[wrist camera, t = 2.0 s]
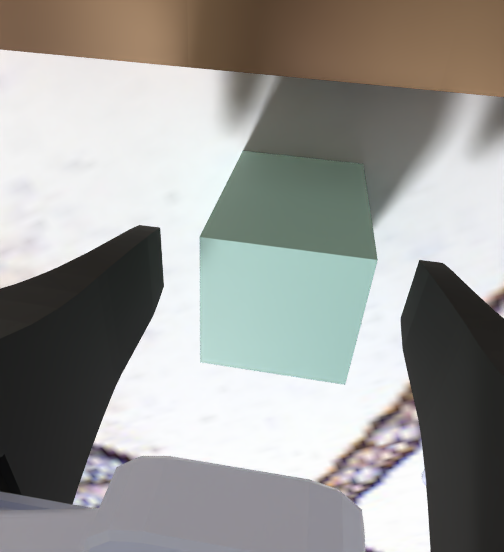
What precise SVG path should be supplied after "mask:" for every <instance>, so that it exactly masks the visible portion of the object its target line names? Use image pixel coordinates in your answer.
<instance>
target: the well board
mask: <svg viewBox="0 0 504 552" xmlns="http://www.w3.org/2000/svg"><path fill="white" fill-rule="evenodd" d="M0 49H2V50H12V51H23V52H33V53H44V54H54V55H65V56H76V57H86V58H97V59H107V60H118V61H128V62H139V63H149V64H160V65H170V66H181V67H192V68H202V69H213V70H223V71H234V72H244V73H255V74H265V75H276V76H286V77H297V78H308V79H318V80H329V81H339V82H350V83H360V84H371V85H381V86H392V87H403V88H413V89H424V90H434V91H445V92H455V93H466V94H476V95H487V96H497V97H504V0H0Z"/></svg>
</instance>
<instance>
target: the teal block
mask: <svg viewBox="0 0 504 552" xmlns="http://www.w3.org/2000/svg"><path fill="white" fill-rule="evenodd" d="M376 264H377V253H376V246H375V240H374V233H373V226H372V220H371V213H370V206H369V199H368V193H367V186H366V179H365V173H364V166H363V164H359V163H350V162H341V161H332V160H323V159H314V158H305V157H296V156H287V155H278V154H269V153H260V152H251V151H243V152H242V154H241V156H240V158H239V160H238V162H237V164H236V166H235V168H234V170H233V172H232V174H231V176H230V178H229V180H228V182H227V184H226V186H225V188H224V190H223V192H222V194H221V196H220V198H219V200H218V202H217V204H216V206H215V208H214V210H213V212H212V214H211V215H210V217H209V219H208V221H207V223H206V225H205V227H204V229H203V231H202V233H201V235H200V362H202V363H209V364H215V365H222V366H228V367H234V368H241V369H247V370H254V371H260V372H267V373H273V374H280V375H286V376H293V377H299V378H305V379H312V380H318V381H325V382H331V383H338V384H344V385H345V383H346V379H347V375H348V372H349V368H350V364H351V360H352V356H353V352H354V349H355V345H356V341H357V337H358V333H359V329H360V326H361V322H362V318H363V314H364V310H365V306H366V302H367V299H368V295H369V291H370V287H371V283H372V279H373V276H374V272H375V268H376Z"/></svg>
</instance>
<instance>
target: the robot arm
mask: <svg viewBox="0 0 504 552" xmlns="http://www.w3.org/2000/svg"><path fill="white" fill-rule="evenodd" d="M163 287H164V282H163V266H162V251H161V235H160V228H158V227H150V226H142V225H139V226H136V227H134V228H132V229H130V230H128V231H126V232H124V233H122V234H121V235H119V236H117V237H115V238H113V239H112V240H110V241H108V242H106V243H104V244H103V245H101V246H99V247H97V248H95V249H94V250H92V251H90V252H88V253H86V254H84V255H82V256H80V257H78V258H76V259H74V260H72V261H70V262H68V263H66V264H64V265H62V266H60V267H58V268H55V269H53V270H51V271H48V272H46V273H44V274H41V275H39V276H36V277H33V278H31V279H28V280H26V281H23V282H20V283H17V284H14V285H11V286H8V287H4V288H1V289H0V552H365V535H364V523H363V515H362V509H360V508H359V507H358V506H357V505H356V504H355V503H354V502H352V501H351V500H350V499H349V498H348V497H347V496H345V495H344V494H343V493H342V492H341V491H339V490H338V489H336V488H333V487H330V486H327V485H324V484H321V483H318V482H315V481H312V480H309V479H303V478H297V477H291V476H285V475H279V474H273V473H267V472H261V471H255V470H249V469H243V468H237V467H231V466H225V465H219V464H213V463H207V462H201V461H195V460H189V459H183V458H177V457H171V456H141V457H138V458H135V459H133V460H131V461H129V462H127V463H125V464H123V465H121V466H119V467H117V468H116V470H115V473H114V475H113V477H112V480H111V482H110V484H109V487H108V489H107V491H106V494H105V496H104V498H103V501H102V503H101V505H100V508H89V507H83V506H78V505H72V504H73V501H74V498H75V495H76V492H77V488H78V485H79V482H80V480H81V477H82V474H83V471H84V468H85V465H86V462H87V459H88V457H89V454H90V451H91V448H92V445H93V443H94V440H95V437H96V435H97V432H98V429H99V427H100V424H101V421H102V419H103V416H104V414H105V411H106V409H107V406H108V404H109V401H110V399H111V396H112V394H113V391H114V389H115V387H116V384H117V382H118V380H119V378H120V376H121V374H122V372H123V370H124V369H125V367H126V365H127V363H128V361H129V359H130V358H131V356H132V354H133V352H134V350H135V348H136V347H137V345H138V343H139V341H140V339H141V337H142V336H143V334H144V332H145V330H146V328H147V326H148V324H149V322H150V321H151V319H152V317H153V315H154V312H155V310H156V307H157V304H158V302H159V299H160V296H161V293H162V290H163ZM401 333H402V346H403V353H404V358H405V362H406V367H407V371H408V376H409V380H410V384H411V389H412V393H413V398H414V402H415V406H416V411H417V415H418V420H419V425H420V431H421V438H422V447H423V457H424V466H425V469H424V471H423V473H422V481H423V483H424V484H425V485H426V489H427V500H428V515H429V531H430V547H431V552H504V318H502V317H501V316H500V315H499V314H498V313H497V312H495V311H494V310H493V309H492V308H491V307H490V306H489V305H488V304H487V303H485V302H484V301H483V300H482V299H481V298H480V297H479V296H478V295H477V294H476V293H475V292H474V291H473V290H472V289H471V288H470V287H468V286H467V285H466V284H465V283H464V282H463V281H462V280H461V279H460V278H459V277H458V276H457V275H456V274H455V273H454V272H453V271H452V270H451V269H449V268H448V267H447V266H446V265H445V264H443V263H439V262H431V261H423V260H419V263H418V266H417V269H416V272H415V276H414V279H413V282H412V285H411V288H410V291H409V294H408V297H407V300H406V303H405V307H404V310H403V313H402V316H401Z"/></svg>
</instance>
